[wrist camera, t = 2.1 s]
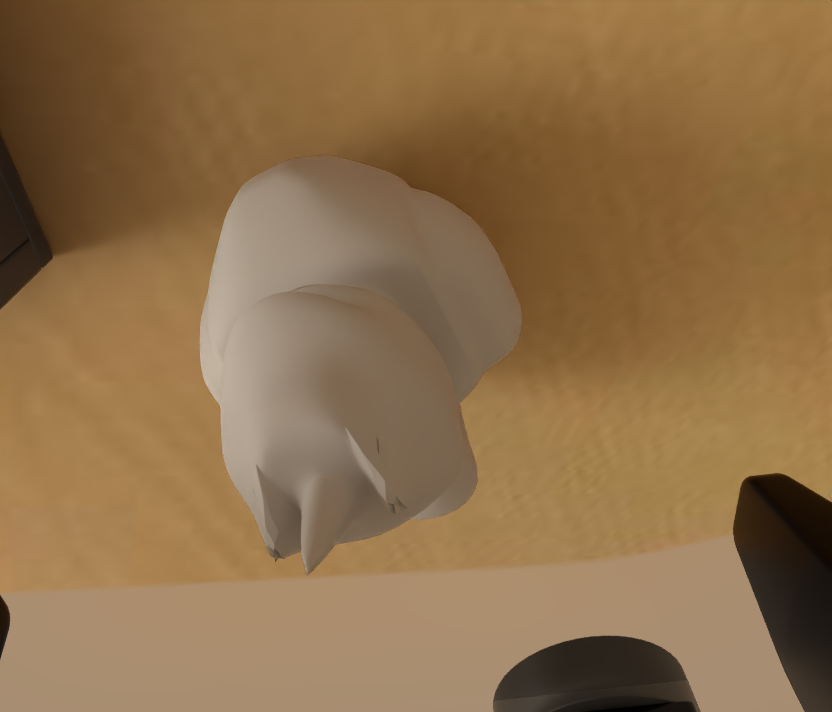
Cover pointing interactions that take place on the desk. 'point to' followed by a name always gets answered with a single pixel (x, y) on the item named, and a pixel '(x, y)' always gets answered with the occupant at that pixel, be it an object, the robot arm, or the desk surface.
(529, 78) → the desk surface
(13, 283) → the tray
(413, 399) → the white rounded lumpy piece
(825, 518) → the robot arm
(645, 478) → the desk surface
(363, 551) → the desk surface
